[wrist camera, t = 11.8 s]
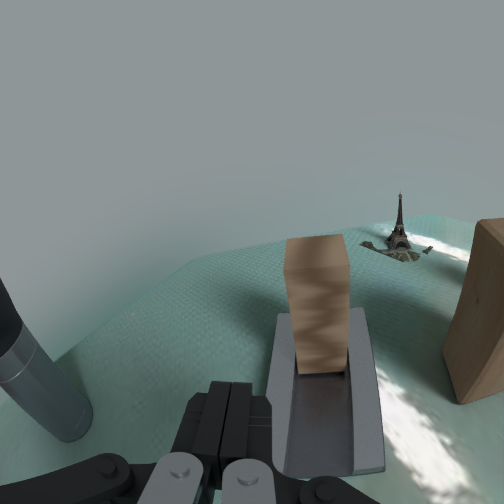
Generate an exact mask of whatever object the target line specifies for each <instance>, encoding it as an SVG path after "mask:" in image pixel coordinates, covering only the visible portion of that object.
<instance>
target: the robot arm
mask: <svg viewBox="0 0 504 504" xmlns="http://www.w3.org/2000/svg"><path fill="white" fill-rule="evenodd" d="M0 386H1V387H2V388H3V389H4V390H5V392H6V393H7V394H8V395H9V396H10V397H11V398H12V399H13V400H14V401H15V402H16V403H17V404H18V405H19V406H20V407H21V408H22V409H23V410H24V411H26V412H27V413H28V414H29V415H30V416H31V417H32V418H33V419H34V420H36V421H37V422H38V423H39V424H40V425H41V426H42V427H44V428H45V429H46V430H47V431H48V432H50V433H51V434H52V435H53V436H55V437H56V438H57V439H59V440H61V441H64V442H71V441H75V440H77V439H79V438H80V437H81V436H83V434H84V433H85V432H86V431H87V429H88V428H89V426H90V424H91V420H92V407H91V405H90V403H89V402H88V401H87V400H86V399H85V398H84V397H83V396H82V394H81V393H80V392H79V391H78V390H77V389H76V388H75V387H74V386H73V385H72V384H71V382H70V381H69V380H68V379H67V378H66V377H65V376H64V375H63V373H62V372H61V371H60V370H59V369H58V368H57V366H56V365H55V364H54V363H53V362H52V360H51V359H50V358H49V356H48V355H47V354H46V353H45V351H44V350H43V349H42V347H41V346H40V345H39V344H38V342H37V341H36V339H35V338H34V337H33V336H32V334H31V332H30V331H29V330H28V328H27V327H26V325H25V324H24V322H23V321H22V319H21V318H20V316H19V314H18V313H17V311H16V309H15V307H14V305H13V303H12V300H11V298H10V296H9V294H8V292H7V290H6V288H5V286H4V284H3V282H2V280H1V279H0ZM215 489H217V490H222V498H221V504H380V503H378V502H376V501H375V500H373V499H371V498H370V497H368V496H367V495H365V494H363V493H362V492H360V491H359V490H357V489H355V488H354V487H352V486H351V485H349V484H348V483H346V482H345V481H343V480H342V479H340V478H337V477H334V476H319V477H315V478H313V479H311V480H309V481H303V480H298V479H294V478H290V477H287V476H285V475H283V474H281V473H280V472H279V471H278V470H277V469H276V468H275V466H274V464H273V461H272V405H271V403H270V402H269V400H268V399H267V397H266V396H252V383H242V382H233V383H232V382H222V381H212V382H211V384H210V388H209V392H208V393H198V392H197V393H196V394H195V395H194V396H193V397H192V398H191V399H190V400H189V401H188V404H187V407H186V410H185V413H184V415H183V418H182V421H181V424H180V427H179V429H178V432H177V435H176V438H175V441H174V444H173V446H172V449H171V452H170V453H169V454H167V455H165V456H163V457H162V458H161V459H160V460H159V461H158V462H156V463H152V464H128V463H127V461H126V460H125V459H124V458H123V457H121V456H119V455H116V454H113V453H104V454H100V455H97V456H95V457H92V458H90V459H87V460H84V461H82V462H79V463H76V464H74V465H71V466H68V467H65V468H62V469H60V470H57V471H54V472H50V473H47V474H44V475H41V476H37V477H34V478H30V479H27V480H23V481H19V482H15V483H11V484H7V485H2V486H0V504H213V498H214V493H215Z"/></svg>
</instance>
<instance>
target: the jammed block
mask: <svg viewBox="0 0 504 504" xmlns="http://www.w3.org/2000/svg"><path fill="white" fill-rule="evenodd" d="M284 276H285V283H286V289H287V296H288V302H289V309H290V315H291V322H292V329H293V336H294V343H295V350H296V358H297V365H298V373H299V374H309V373H327V372H341V371H346V362H347V349H348V332H349V308H350V263H349V259H348V255H347V251H346V247H345V243H344V239H343V235H342V234H336V235H325V236H314V237H303V238H293V239H287V244H286V253H285V261H284Z"/></svg>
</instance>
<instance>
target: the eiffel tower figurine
mask: <svg viewBox="0 0 504 504" xmlns="http://www.w3.org/2000/svg"><path fill="white" fill-rule="evenodd" d="M401 198H402V195H401V194H399V209H398V217H397V222H396V226H395V228H394V231H392V234H391V235H390V236H389V237H388V238H387V239H386V240H385V242H386V244H387V246H388V248H389V249H386V250H377V249H375V248H374V247H373V244H372V243H371V242H366V241H364V242H362V243H361V244H359V245H362V246H365V247H367V248H370V249H372V250H374V251H377V252H380V253H383V254H385V255H388V256H390V257H392V258H395V259H397V260H399V261H402V262H409V261H415V260H418V258H419V257H420V254H418V253H415V252H411V250H413V249H412V248H411V246H410V244H409V242H408V240H407V235H406V234H405V232H404V227H403V226H404V225H403V220H402V202H401ZM399 229H400V230H399ZM392 238H393V240H391V239H392ZM432 248H433V247H432V246H429V247H428V249H426V250H422V252H423V253H426V254H428V253H429V252H430V250H431V249H432Z"/></svg>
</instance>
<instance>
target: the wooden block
mask: <svg viewBox="0 0 504 504" xmlns="http://www.w3.org/2000/svg"><path fill="white" fill-rule="evenodd" d="M442 353H443V356H444V359H445V362H446V365H447V368H448V371H449V374H450V378H451V381H452V384H453V388H454V391H455V395H456V398H457V402H458V403H459V404H461V405H464V404H467V403H470V402H473V401H476V400H479V399H482V398H485V397H488V396H490V395H493V394H496V393H498V392H501V391H503V390H504V218H498V219H482V220H480V221H478V222H477V224H476V226H475V232H474V238H473V244H472V249H471V254H470V259H469V263H468V268H467V272H466V276H465V280H464V284H463V288H462V291H461V295H460V298H459V302H458V305H457V308H456V311H455V314H454V318H453V321H452V323H451V326H450V329H449V332H448V335H447V337H446V340H445V343H444V345H443V349H442Z"/></svg>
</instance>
